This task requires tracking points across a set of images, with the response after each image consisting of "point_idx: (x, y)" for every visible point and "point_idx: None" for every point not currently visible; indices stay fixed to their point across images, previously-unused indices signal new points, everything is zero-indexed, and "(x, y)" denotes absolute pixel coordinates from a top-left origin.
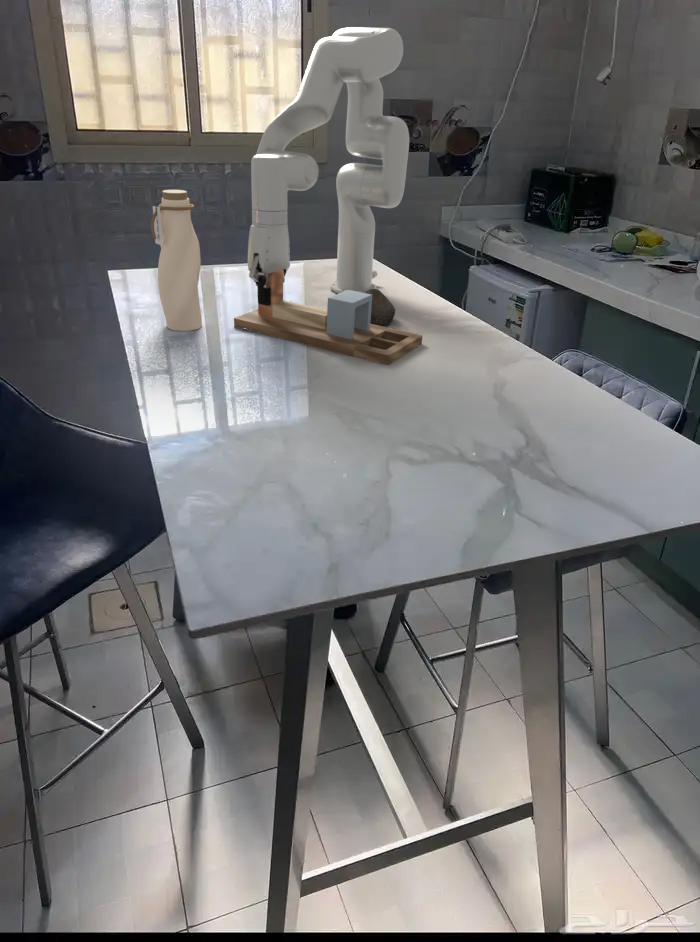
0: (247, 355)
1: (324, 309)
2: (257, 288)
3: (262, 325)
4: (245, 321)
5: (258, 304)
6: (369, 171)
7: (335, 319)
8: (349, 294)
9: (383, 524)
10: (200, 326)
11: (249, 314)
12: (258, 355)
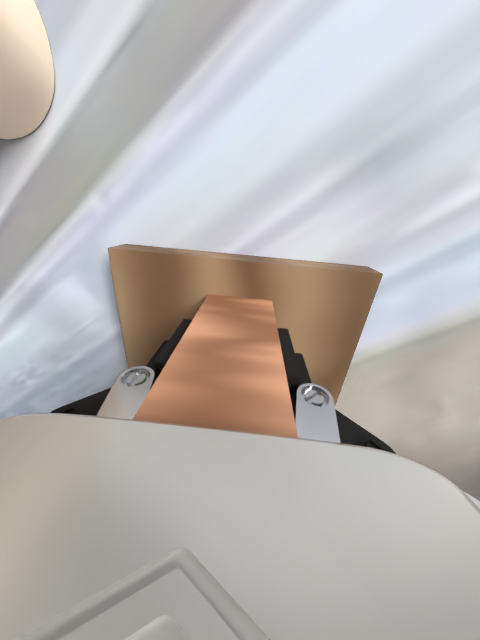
0: (14, 380)
1: None
2: (160, 352)
3: (127, 357)
4: (117, 298)
5: (199, 309)
6: None
7: None
8: None
9: None
10: (19, 135)
11: (181, 271)
12: (34, 396)
